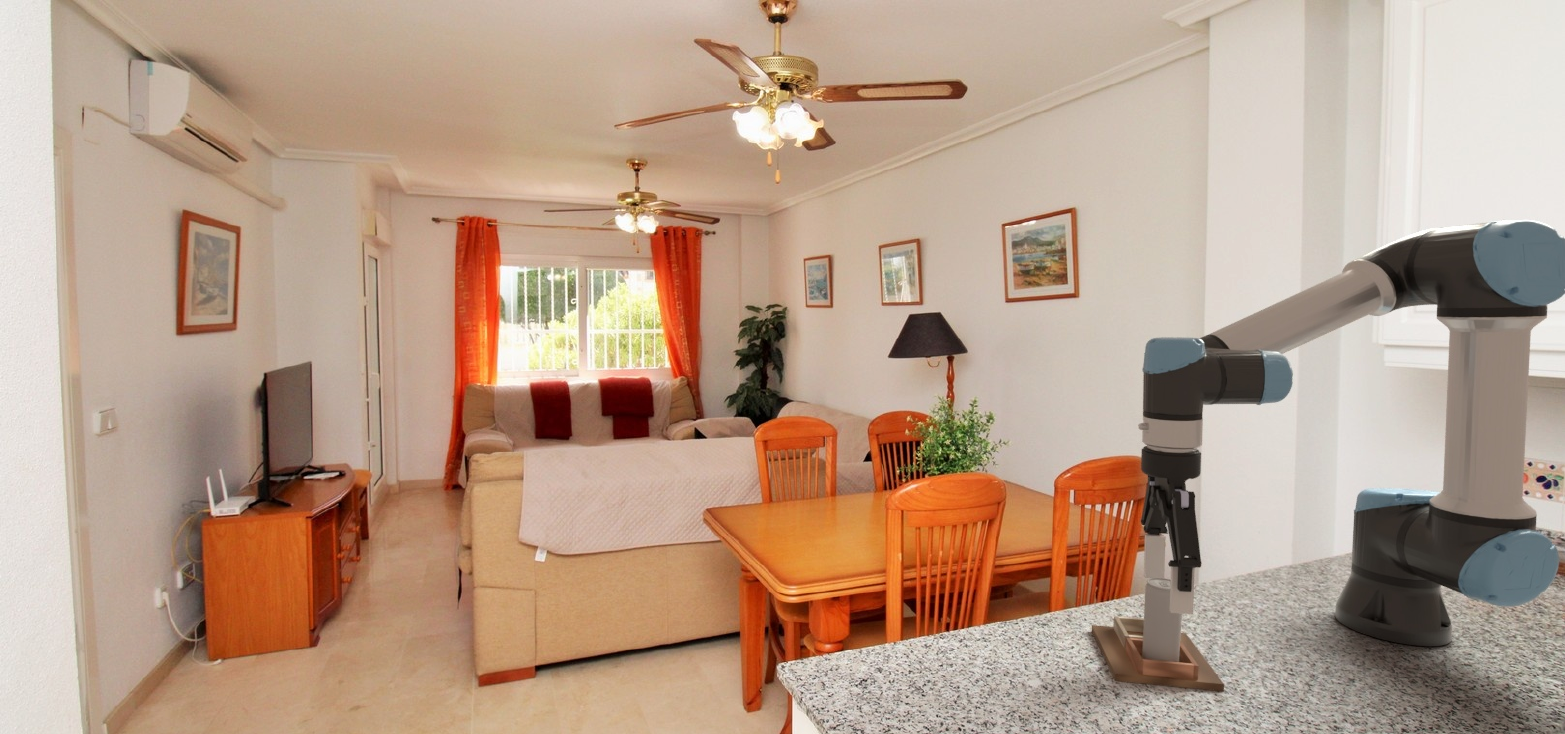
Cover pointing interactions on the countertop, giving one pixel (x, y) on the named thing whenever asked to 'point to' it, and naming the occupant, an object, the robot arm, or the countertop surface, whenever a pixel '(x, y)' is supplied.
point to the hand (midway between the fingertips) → (1166, 594)
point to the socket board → (1129, 666)
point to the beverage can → (1160, 623)
